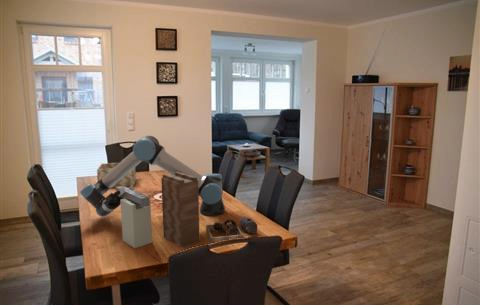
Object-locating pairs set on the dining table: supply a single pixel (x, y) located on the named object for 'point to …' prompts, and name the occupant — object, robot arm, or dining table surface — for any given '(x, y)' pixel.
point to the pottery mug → (225, 227)
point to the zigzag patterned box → (125, 181)
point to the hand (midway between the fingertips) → (128, 188)
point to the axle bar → (134, 197)
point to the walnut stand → (180, 208)
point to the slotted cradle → (136, 224)
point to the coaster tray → (217, 239)
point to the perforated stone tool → (248, 225)
